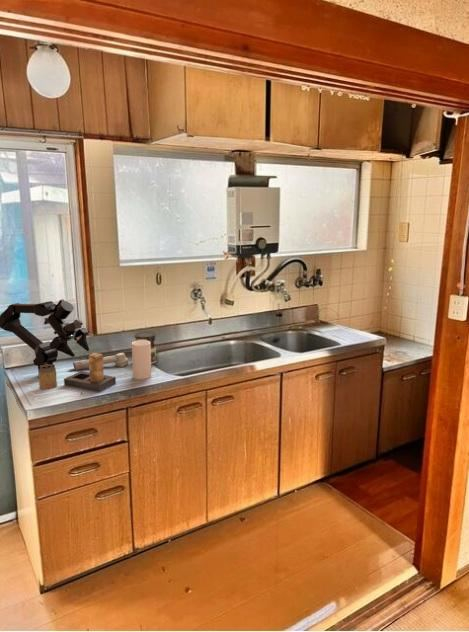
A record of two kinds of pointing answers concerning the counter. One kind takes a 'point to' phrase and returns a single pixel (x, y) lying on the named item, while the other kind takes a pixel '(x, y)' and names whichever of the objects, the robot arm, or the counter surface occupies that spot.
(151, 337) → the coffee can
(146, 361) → the cup
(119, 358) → the wooden mallet
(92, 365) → the wood peg
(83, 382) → the rail
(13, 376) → the counter surface
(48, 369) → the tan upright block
